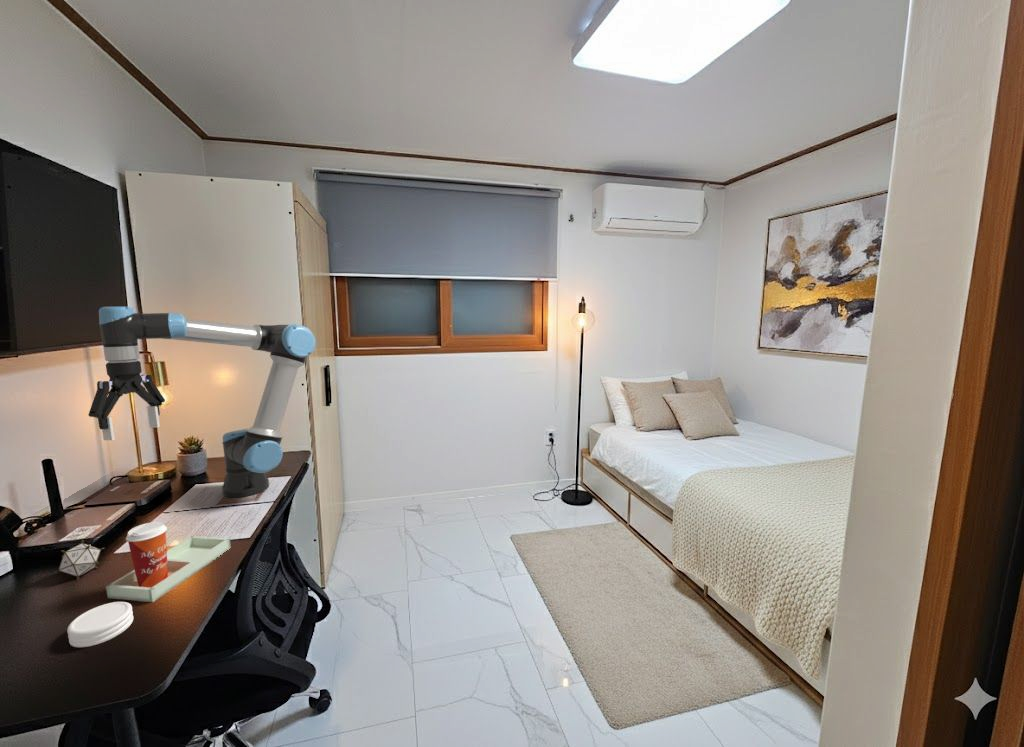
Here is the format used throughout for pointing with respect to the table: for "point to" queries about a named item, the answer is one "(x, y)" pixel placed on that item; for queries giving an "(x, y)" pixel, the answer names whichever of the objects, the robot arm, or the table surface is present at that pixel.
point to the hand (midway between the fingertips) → (133, 433)
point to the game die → (79, 559)
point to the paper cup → (149, 553)
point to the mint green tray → (172, 569)
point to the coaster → (100, 624)
